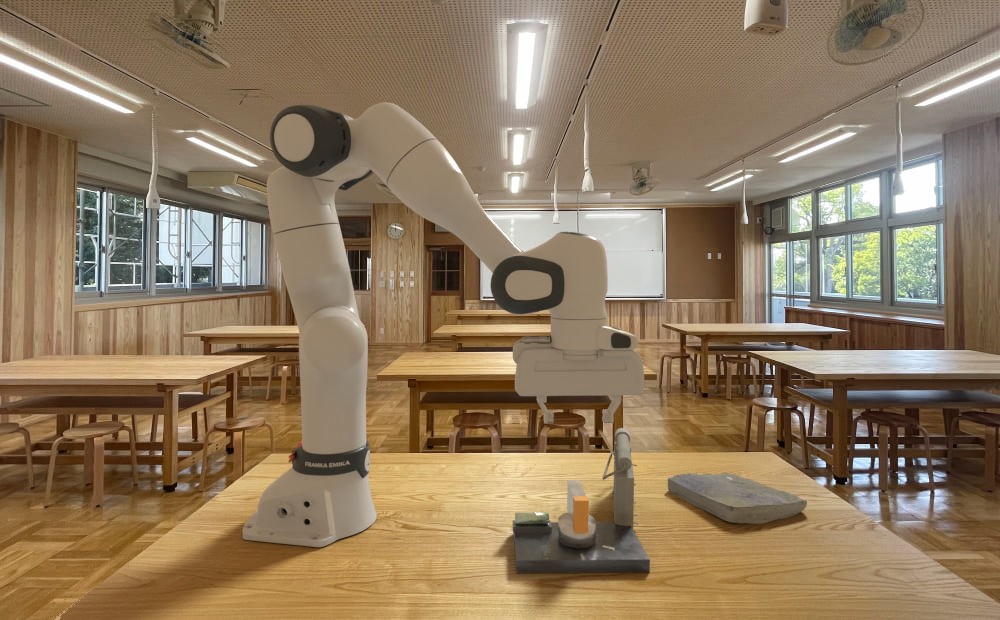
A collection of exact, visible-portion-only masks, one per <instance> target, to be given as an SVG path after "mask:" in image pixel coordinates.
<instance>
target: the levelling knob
mask: <svg viewBox="0 0 1000 620" xmlns="http://www.w3.org/2000/svg"><path fill="white" fill-rule="evenodd" d="M566 486H567V488H566V489H567V490H566V491H567V493H566V494H567V497H566V499H567V502H566V503H567V504H566V506H567V507H566V508H567V512H565V513H561V515H559V516H558V520H557V522H558V539H559V541H560V542H561V543H562V544H564V545H566V546H569V547H573V548H586V547H590V546H592V545H593V544H594V543H595V542H596V522H597V520H596V519H595V518H594V516H592V515H590V514H589V507H590V505H589V503H590V502H589V498H588V496H587V495H586V492H585V490H584V488H583V486H582V482H581V481H580V480H579V479H574V480H573V479H572V480H571V479H570V480H569V479H567V485H566Z"/></svg>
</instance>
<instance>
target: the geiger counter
mask: <svg viewBox="0 0 1000 620" xmlns="http://www.w3.org/2000/svg"><path fill="white" fill-rule="evenodd" d="M630 442H631V433H630V432H629V430H628V429H626V427H625V428H624V427H620V428H618V429H616V430H615V432H614V446H613V449H614V450H613V451H611V452H610V455H609V457H608V460H607V463H606V465H605V469H604V472H603V475H602V478H601V479H602V480H603V481H604V480H606V479H607V478H609V477H612V476H613V517H614V520H613V522H615V524H618V525H623V526H631V527H632V529H633V530H634V524H635V525H639V523H638V522H634V516H636V517H637V516H638V513H637V514H636V513H635V514H634V509H635V508H634V506H635V504H637V502H636V501H635V499H634V498H635V486H637V484H636V483H635V475H634V474H635V473H634V468H633V467H638V465H637V464H633V459H632V447H631V446H630ZM612 457H613V471H612V472H610V473H608V470H609V466H610V464H611V461H612Z"/></svg>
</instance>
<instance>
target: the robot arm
mask: <svg viewBox="0 0 1000 620" xmlns="http://www.w3.org/2000/svg"><path fill="white" fill-rule="evenodd" d="M269 142H270V147H271V151H272V152H273V155H274V157H275V159H277V161H278V162H279V163H280V164H281V165H282V166H280V167H278V168H277V169H275V170H273V171H272V172H271V173H270V174H269V176H268V178H267V181H266V198H267V210H268V217H269V220H270V221H269V222H270V227H271V232H272V235H273V240H274V243H275V247H276V248H275V249H276V252H277V255H278V260H279V263H280V267H281V272H282V276H283V280H284V283H285V286H286V289H287V293H288V295H289V299H290V302H291V306H292V310H293V314H294V318H295V320H296V324H297V329H298V334H299V337H298V358H299V362H298V363H299V380H300V381H299V382H300V383H299V384H300V402H301V403H300V404H301V411H300V412H301V441H300V442H298V443H297V444H296V446H295V447H296V448H294V449H293V450H292V451H291V453H290V454H289V455H288V456H287V459H288V463H289V464H290V463H291V465H292V466H291V467H290V468H289V469H288V470H286V471H285V472H284V473H282V474H281V475H280V476H279V477H277V478H276V479H275V480H274V481H273V482H272V483H270V484H269V485H267V487H266V488H265V490H264V491H263V492H262V494H261V495H260V498H259V501H258V504H257V507H256V508H257V509H256V511H255V512H254V513H253V514H252V515H251V516H249V517H248V519H247V520H246V521H245V523H244V525H243V527H242V532H241V533H242V534H241V535H242V539H243V540H246V541H253V542H254V541H255V542H264V543H274V544H281V545H282V544H283V545H284V544H285V545H294V546H302V547H303V546H304V547H311V548H312V547H314V548H322V547H325V546H329V545H330V544H332V543H334V542H336V541H338V540H339V539H343V538H346V537H350V536H353V535H356V534H359V533H360V532H362V531H364V530H366V529H368V528H369V527H370V526H371V525H373V524H374V523H375V521H376V520H377V517H378V516H377V511H376V508H375V505H374V501H373V498H372V497H373V496H372V491H371V485H370V479H369V473H370V468H371V451H370V442H369V440H368V439H367V388H368V387H367V383H368V363H369V362H368V357H369V354H368V353H369V351H368V350H369V349H368V348H369V337H368V332H367V329H366V327H365V325H364V323H363V322H362V321H361V319H360V314H359V309H358V305H357V301H356V295H355V290H354V285H353V280H352V273H351V268H350V265H349V259H348V255H347V250H346V248H345V243H344V238H343V235H342V231H341V226H340V225H341V224H340V222H339V217H338V212H337V210H336V209H337V208H336V204H335V203H336V202H335V196H336V193H337V191H338V190H341V191H347V190H349V189H351V188H352V187H353V186H356V185H357V184H359V183H360V182H362V181H364V180H366V179H368V178H369V177H371V176H373V174H375V175H376V176H377V178H379V179H380V181H381V182H382V183H383V184H384V185H385V186H386V187H387V188H388V189H389V190H390V192H392V194H393V195H394V196H395V197H396V198H397V199H399V200H400V201H401V202H402V204H404V205H405V206H406V207H407V208H409V209H410V210H411V211H413V212H414V213H415V214H417V215H418V216H420V217H421V218H423V219H425V220H427V221H429V222H431V223H433V224H435V225H438V226H439V227H441V228H443V229H444V230H447V231H448V232H450V233H451V234H453V235H454V236H455V237H457V238H458V239H460V240H461V242H463V243H464V244H465V245H466V246H467V247H468V248H469V250H470V251H471V252H473V254H475V256H476V257H477V258H478V259H479V260H480V261H481V262H482V263H483V264H484V265H485V267H487V269H488V270H490V272H491V273H492V275H491V278H490V291H491V295H492V298H493V299H494V302H495V303H496V304H497V305H498V306H499V307H500V308H501V309H502V310H504V311H505V312H507V313H509V314H511V315H515V316H529V315H533V314H536V313H538V312H539V313H540V312H542V311H548V312H549V313H550V335H548V336H547V335H544V336H543V335H541V336H529V335H528V336H526V335H525V336H522V337H521V339H518V340H517V341H515V342H514V343H513V347H512V359H513V362H514V363H515V364H516V367H515V376H514V391H515V392H516V394H518V396H519V397H536V402H537V404H538V406H539V407H540V409H541V411H542V412H543V423H544V424H546V425H547V424H554V423H555V419H554V418H555V413H554V410H548V409H547V406H546V405H545V404H546V403H547V397H558V396H559V397H563V396H565V397H569V396H570V397H578V396H584V397H586V396H589V397H591V396H592V397H593V396H596V397H597V396H609V400H610V401H611V402H610V404H609V406H608V408H607V409H602V410H601V413H602V416H601V419H602V420H601V421H602V422H603V424H614V419H615V413H616V411H617V410H618V408H619V406H620V405H621V403H622V396H640V395H641V394H642V392H643V391H644V390H645V372H644V363H643V359H642V357H641V355H640V353H639V352H638V351H636V349H637V348H638V346H639V339H638V337H637V336H636V335H634V334H632V333H631V332H628V331H625V330H621V329H620V328H619V327H614V326H612V327H611V326H609V324H608V312H607V309H606V308H607V307H606V296H607V295H608V294H607V293H608V290H609V284H608V283H609V281H608V279H609V277H608V260H607V252H606V249H605V245H604V244H603V243H602V242H601V240H600V239H598V238H596V237H595V236H593V235H590V234H586V233H582V232H575V231H560V232H557V233H556V234H555V235H554V236H553V237H551V238H549V239H548V240H547V241H545V242H544V243H543V242H542V243H541V244H539V245H538V246H536V247H534V248H531V249H528V250H526V251H523V250H522V249H520V248H519V247H518V246H517V245H516V244H515V243H514V242H513V241H512V240H511V239H510V238H509V237H508V236H507V235H506V234H505V232H504V231H503V230H502V229H501V228H500V227H499V226H498V225H497V224H496V222H494V220H493V219H492V218H491V217H490V216H489V214H487V212H486V210H485V209H484V208H483V207H482V205H481V203H480V202H479V200H478V199H477V197H476V195H475V193H474V191H473V190H472V188H471V185H470V183H469V182H468V180H467V178H466V177H465V175H464V173H463V171H462V170H461V168H460V167H459V165H458V164H457V162H456V161H455V159H454V158H453V157H452V155H451V154H450V152H449V151H448V150H447V149H446V147H445V146H444V145H443V144H442V143H441V142H440V141H439V139H438V138H437V137H436V136H434V135H433V133H432V132H431V131H429V129H427V127H425V126H424V125H423V124H422V123H421V122H420V121H419V120H418V119H416V118H415V117H414V116H412V114H410V113H409V112H407V110H405V109H403V108H402V107H401V106H399V105H397V104H395V103H392V102H387V101H386V102H384V101H383V102H382V101H381V102H379V103H375V104H374V105H372V106H370V107H367V109H366V110H365V111H363V112H362V114H361V115H360V116H359V117H356V118H353V117H352V116H349V115H347V114H345V113H342V112H340V111H335V110H332V109H328V108H324V107H321V106H318V105H313V104H295V105H291V106H288V107H285V108H284V109H282V110H281V111H280V112H279V113H278V114H276V116H275V118H274V119H273V121H272V124H271V126H270V131H269ZM544 403H545V404H544Z"/></svg>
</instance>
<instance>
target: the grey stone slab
mask: <svg viewBox="0 0 1000 620" xmlns="http://www.w3.org/2000/svg"><path fill="white" fill-rule="evenodd" d="M667 490H668V492H670V493H671V495H672V494H673V495H674V496H676V497H678V498H680V499H681V500H684V502H686V503H688V504H691V505H693V506H694V507H695V508H699V509H700V510H703V511H705V512H707V513H709V514H712V515H713V516H715V517H717V518H719V519H721V520H723V521H724V522H725V521H726V522H728V523H733V524H735V523H736V524H748V525H749V524H751V525H758V524H760V525H761V524H767V523H769V522H771V523H772V521H777V520H783V519H787V518H790V517H793V516H796V515H798V514H800V513H802V512H803V511H804V510H805V509H806V507H807V506H808V500H806V499H803V498H800V497H798V496H797V495H794V494H792V493H790V492H787V491H785V490H779V489H776V488H773V487H771V486H767V485H766V484H763V483H760V482H758V481H755V480H752V479H749V478H746V477H744V476H739V475H736V474H733V473H728V472H721V473H718V474H716V473H714V474H713V473H703V474H698V473H695V472H690V473H681V474H676V475H673V476H672V477H668V478H667Z"/></svg>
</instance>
